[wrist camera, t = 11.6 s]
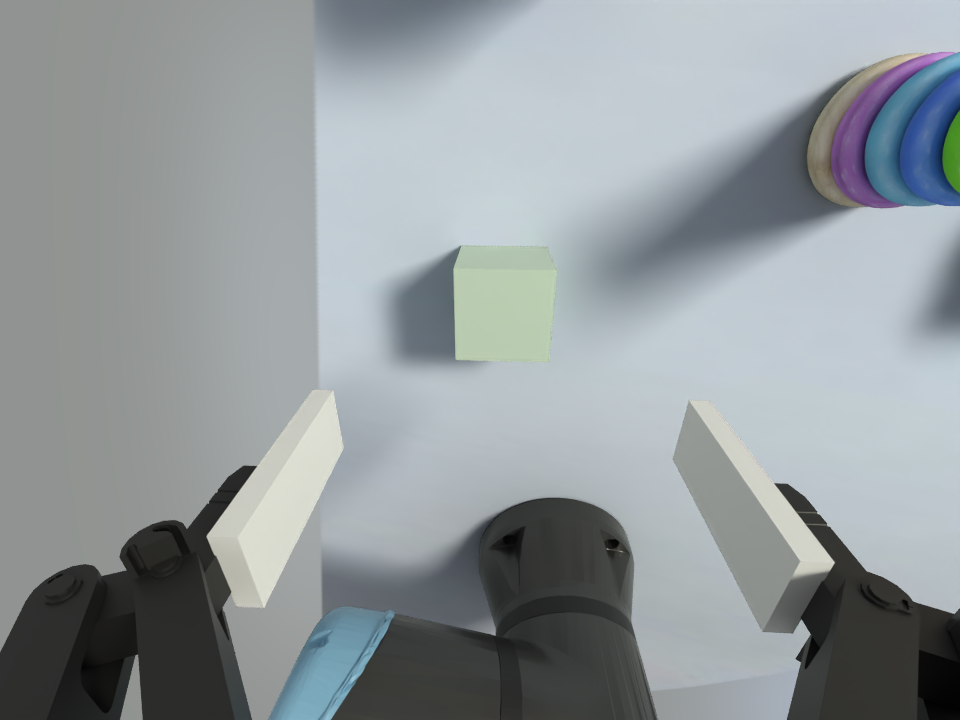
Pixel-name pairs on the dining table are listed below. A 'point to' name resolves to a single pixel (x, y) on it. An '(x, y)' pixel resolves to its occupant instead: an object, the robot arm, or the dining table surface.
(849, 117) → the stacking toy
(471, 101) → the dining table surface
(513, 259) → the sage brick
